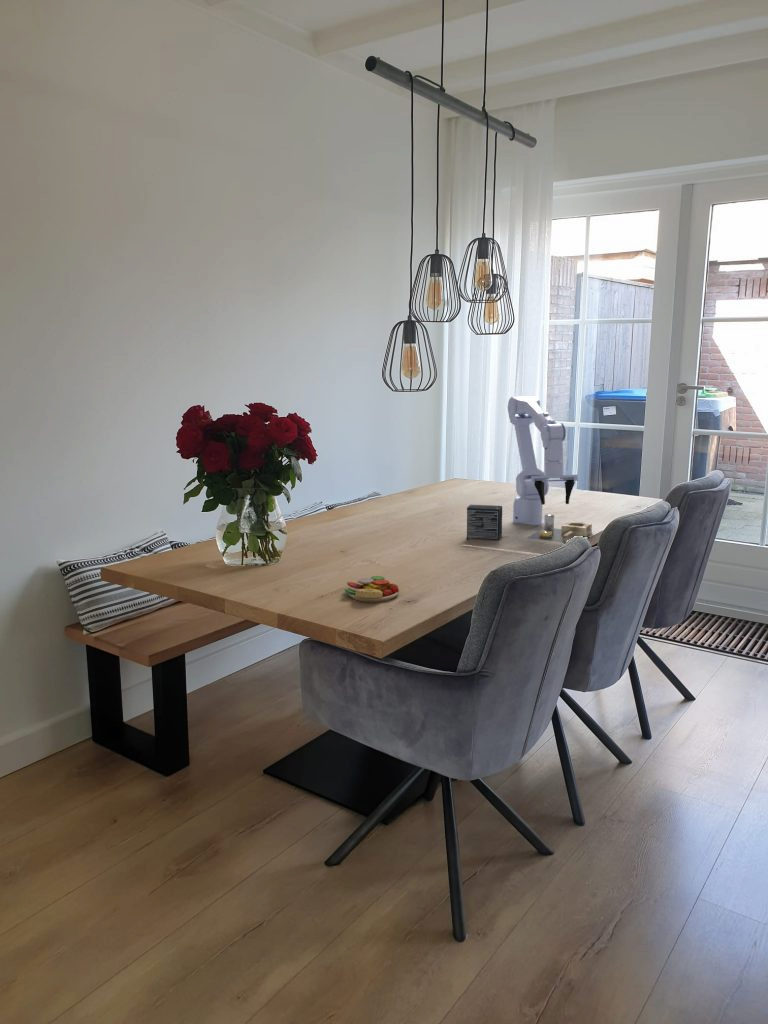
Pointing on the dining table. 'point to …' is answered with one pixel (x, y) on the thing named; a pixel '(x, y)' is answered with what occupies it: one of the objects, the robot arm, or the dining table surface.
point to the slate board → (555, 537)
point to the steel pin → (549, 522)
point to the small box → (484, 522)
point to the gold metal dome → (545, 534)
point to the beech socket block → (577, 528)
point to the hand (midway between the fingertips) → (555, 504)
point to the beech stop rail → (567, 536)
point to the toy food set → (372, 589)
